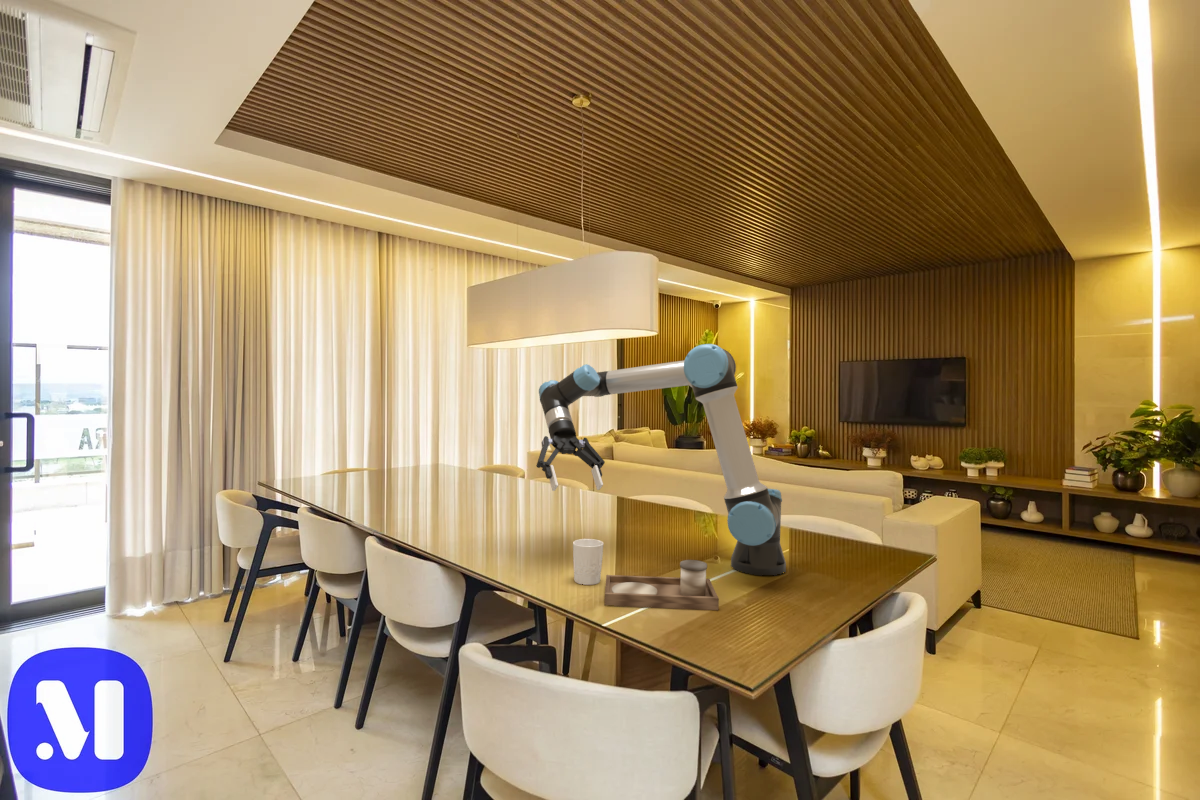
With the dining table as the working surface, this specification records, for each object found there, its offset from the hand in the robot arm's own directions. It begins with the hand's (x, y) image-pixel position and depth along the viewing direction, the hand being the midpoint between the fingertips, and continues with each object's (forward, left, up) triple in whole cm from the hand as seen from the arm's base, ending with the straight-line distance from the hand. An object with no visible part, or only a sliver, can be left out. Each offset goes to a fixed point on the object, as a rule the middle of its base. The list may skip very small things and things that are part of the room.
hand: (578, 487), depth 156 cm
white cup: (-3, +7, -23) cm, 25 cm away
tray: (-21, +17, -23) cm, 36 cm away
